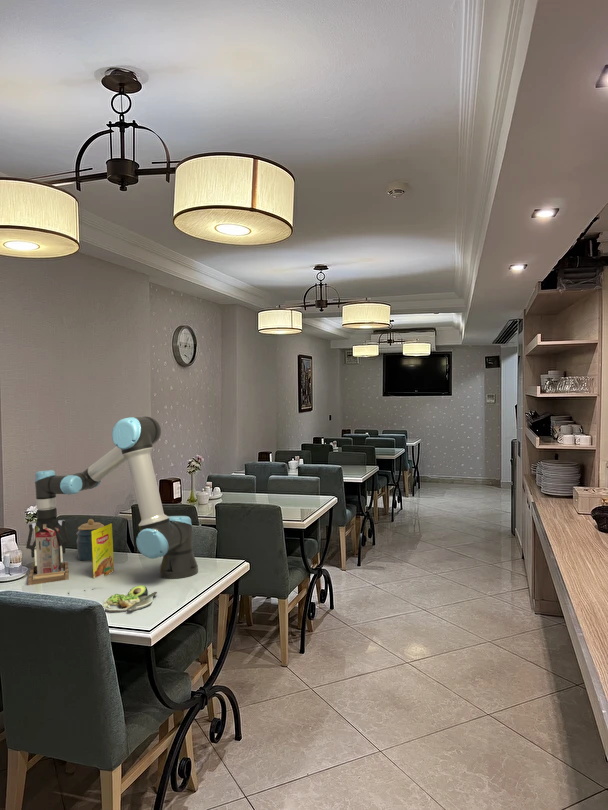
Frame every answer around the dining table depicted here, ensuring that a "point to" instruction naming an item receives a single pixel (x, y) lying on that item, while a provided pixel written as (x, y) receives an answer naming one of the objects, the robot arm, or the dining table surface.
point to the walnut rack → (49, 579)
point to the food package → (102, 551)
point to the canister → (86, 540)
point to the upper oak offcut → (49, 575)
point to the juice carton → (48, 551)
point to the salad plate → (130, 599)
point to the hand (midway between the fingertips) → (49, 563)
